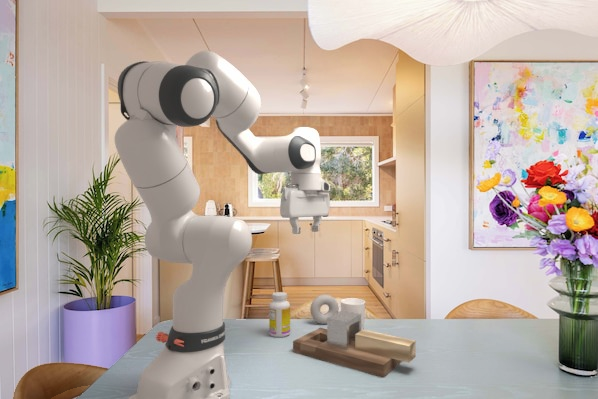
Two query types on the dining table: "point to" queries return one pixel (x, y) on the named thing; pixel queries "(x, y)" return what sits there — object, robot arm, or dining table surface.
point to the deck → (343, 354)
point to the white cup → (354, 307)
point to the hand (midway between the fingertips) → (306, 232)
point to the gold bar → (385, 345)
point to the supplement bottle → (279, 315)
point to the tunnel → (342, 329)
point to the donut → (317, 305)
